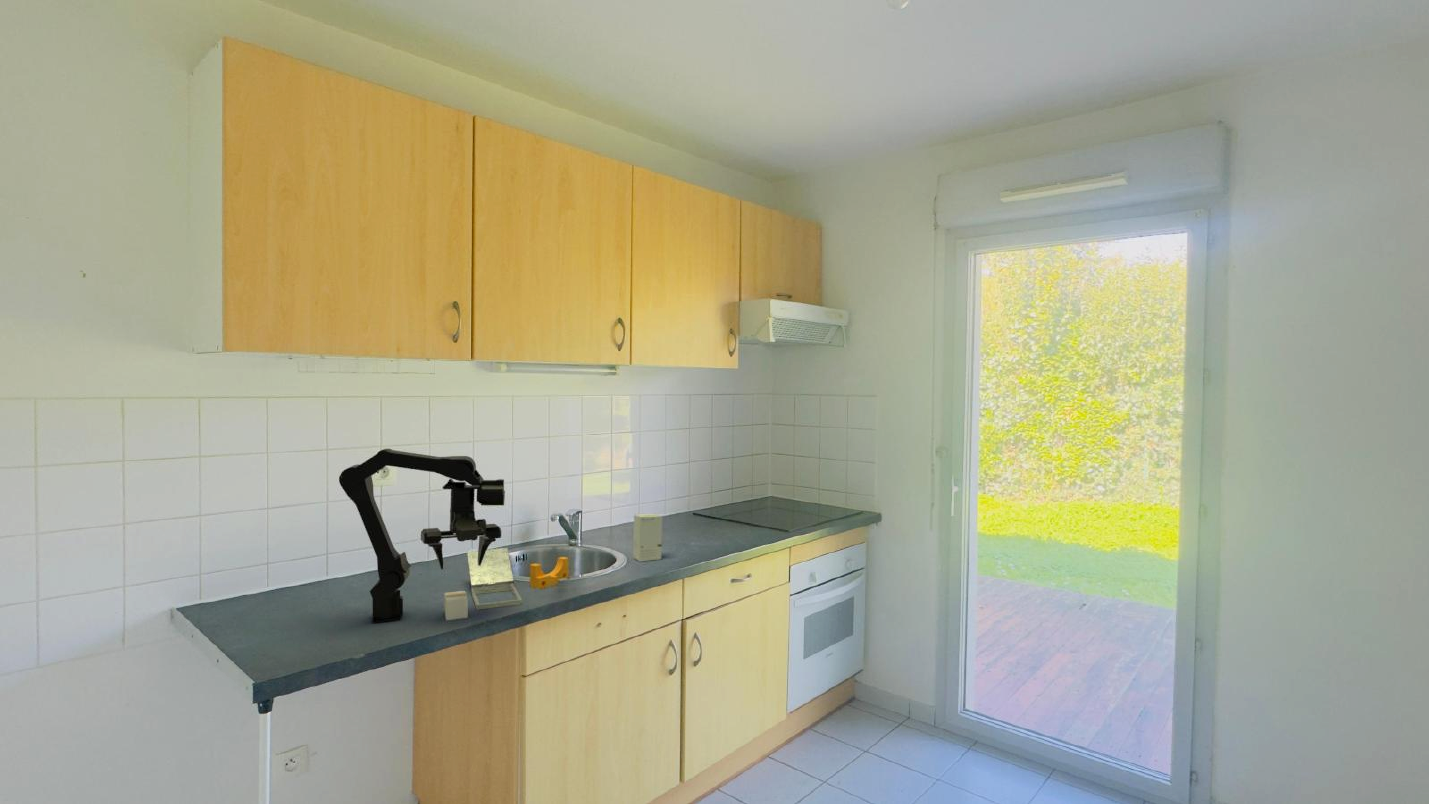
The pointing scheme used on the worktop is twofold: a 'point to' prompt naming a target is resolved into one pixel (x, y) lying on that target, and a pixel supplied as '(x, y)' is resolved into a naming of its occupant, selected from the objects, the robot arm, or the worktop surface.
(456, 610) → the block
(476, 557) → the case
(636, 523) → the skincare box
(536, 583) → the pipe clamp
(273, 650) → the worktop surface
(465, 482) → the robot arm
